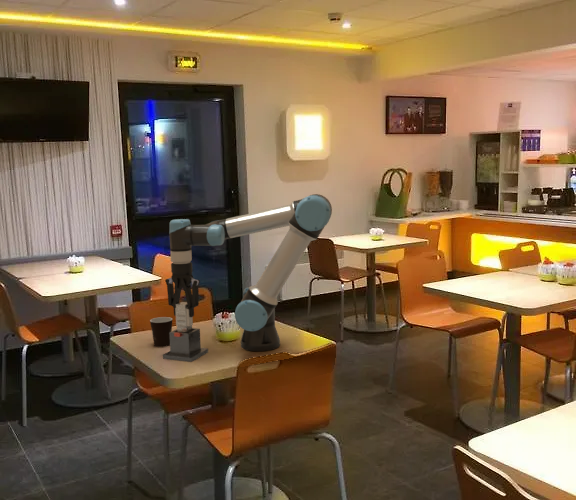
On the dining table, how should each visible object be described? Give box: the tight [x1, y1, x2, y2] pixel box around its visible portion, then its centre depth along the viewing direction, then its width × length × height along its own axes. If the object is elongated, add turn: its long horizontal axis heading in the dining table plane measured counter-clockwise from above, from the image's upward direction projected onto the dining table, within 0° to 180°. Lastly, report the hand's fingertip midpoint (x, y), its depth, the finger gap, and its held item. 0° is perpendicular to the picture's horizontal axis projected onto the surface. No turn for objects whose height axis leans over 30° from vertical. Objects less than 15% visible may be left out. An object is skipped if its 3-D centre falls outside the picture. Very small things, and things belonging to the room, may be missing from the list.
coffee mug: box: [149, 316, 173, 348], centre depth 244 cm, size 12×9×10 cm
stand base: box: [162, 327, 209, 363], centre depth 228 cm, size 12×12×10 cm
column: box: [175, 301, 193, 333], centre depth 227 cm, size 4×4×18 cm
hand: (184, 324), depth 227 cm, fingers closed on column, 4 cm apart
